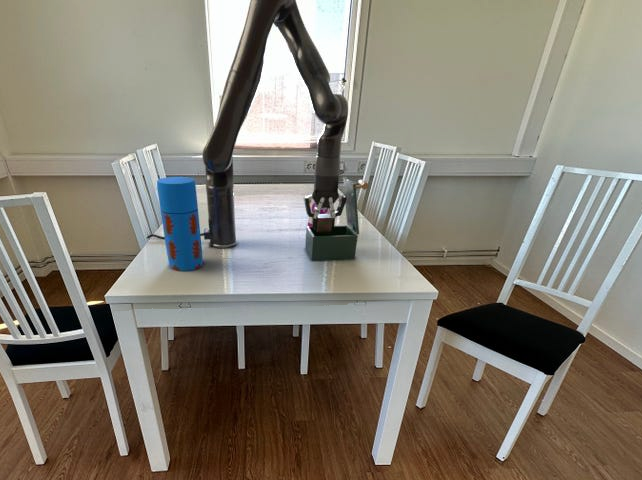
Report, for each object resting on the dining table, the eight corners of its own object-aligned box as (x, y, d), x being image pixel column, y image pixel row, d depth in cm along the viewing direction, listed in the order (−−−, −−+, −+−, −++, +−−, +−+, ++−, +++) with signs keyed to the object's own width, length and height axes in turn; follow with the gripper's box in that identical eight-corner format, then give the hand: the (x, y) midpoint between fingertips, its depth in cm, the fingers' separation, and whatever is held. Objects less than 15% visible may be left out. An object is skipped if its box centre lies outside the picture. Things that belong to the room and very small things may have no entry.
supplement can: (327, 240, 147) (331, 197, 138) (305, 238, 148) (307, 196, 140) (329, 233, 153) (332, 192, 145) (308, 232, 155) (310, 191, 146)
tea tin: (311, 260, 129) (313, 237, 125) (305, 248, 139) (306, 226, 134) (354, 259, 131) (357, 235, 126) (345, 247, 140) (348, 225, 136)
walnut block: (317, 232, 128) (318, 217, 125) (314, 228, 132) (315, 214, 129) (331, 232, 128) (332, 217, 126) (328, 227, 132) (329, 213, 129)
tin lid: (353, 184, 117) (371, 179, 117) (343, 177, 127) (360, 172, 126) (356, 234, 126) (373, 230, 126) (347, 224, 136) (363, 220, 135)
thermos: (187, 273, 120) (176, 185, 105) (161, 266, 124) (148, 181, 110) (210, 262, 127) (202, 179, 113) (185, 256, 132) (175, 175, 118)
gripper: (346, 170, 124) (341, 225, 134) (301, 171, 122) (299, 226, 132) (353, 174, 118) (346, 232, 127) (306, 175, 116) (303, 233, 126)
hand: (322, 229), depth 130 cm, fingers closed on walnut block, 4 cm apart
